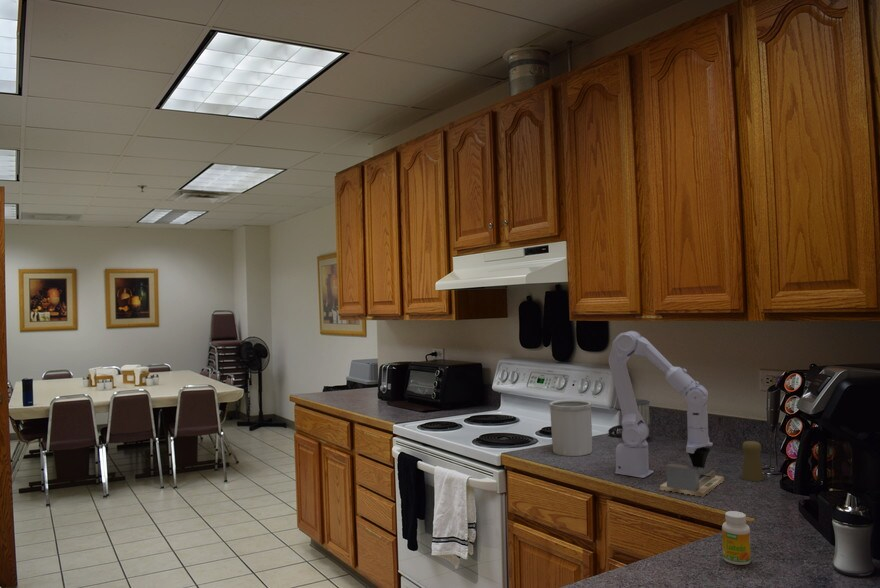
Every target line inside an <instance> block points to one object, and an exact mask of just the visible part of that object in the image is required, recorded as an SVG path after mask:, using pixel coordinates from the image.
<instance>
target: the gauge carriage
mask: <svg viewBox="0 0 880 588" xmlns="http://www.w3.org/2000/svg"><path fill="white" fill-rule="evenodd" d="M692 467H693V465H692ZM704 471H705V467H704V468H700V467H699V480H700V479H701V478H702V477H704V476H705V477H711V476H708V475H704V474H705V472H704Z"/></svg>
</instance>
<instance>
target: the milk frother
mask: <svg viewBox="0 0 880 588" xmlns="http://www.w3.org/2000/svg"><path fill="white" fill-rule="evenodd" d="M635 399H636V403H637V407H638V410H639V413H640V414H641V415H642V417H643V421H644V422H645V424H646V425H647V426H648V428H649V435H648V437H647V438H646V441H647V443H648V442H650V441H652V438H651V423H650V421H651V420H650V419H651V418H650V400H647V399H641V398H640V399H639V398H635ZM619 429H621V430H623V427H622V424H621V425H615V426H612V427H610V428H609V429H608V434H609V436H611V437H616V438H620V437H621V438H622V432H621V433H617V432H618V430H619Z"/></svg>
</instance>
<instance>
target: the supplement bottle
mask: <svg viewBox="0 0 880 588" xmlns="http://www.w3.org/2000/svg"><path fill="white" fill-rule="evenodd" d="M724 515H725V518H724V520H725V522H723V524H722V525H721V526H722V527H721V539H722V559H723V560H724V561H725V562H726V563H728V564H731V565H739V566H743V565H744V566H745V565H748V564H750V563H751V560H752V559H751V558H752V556H751V528H750V526H749V525H748V524H746V523H747V514H745V513H743V512H742V511H741V512H740V511H737V510H729V511H726V512H725V514H724Z"/></svg>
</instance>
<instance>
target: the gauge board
mask: <svg viewBox="0 0 880 588" xmlns="http://www.w3.org/2000/svg"><path fill="white" fill-rule="evenodd" d="M704 475H708V476H711V477H705V476H704V477H702V478H701V479H700V480H699V490H697V491H696V492H694V491H688V490H682V489H677V488H671V487H667V480H666V481H665V482H663V483H662V484H660V485H659V490H660V491H664V490H665V492H669V491H672V492H671V493H675V492H678V493H677V494H681V493H684V494H683V495H687V494H690V495H689V496H692V495H695V496H694V497H698V496H701V497H700V498H705V495H706V494H707V495H708V494H710V493H711V492H712V491H713V490H714V488H715V487H716V486H717V485H718V486H720V485H721V484H723V481H724V482H725V476H723V475H716V471H715V470H711V471H709V472H708V473H704ZM720 483H721V484H720ZM719 484H720V485H719ZM718 486H717V487H718ZM717 487H716V488H717ZM716 488H715V489H716ZM711 490H712V491H711ZM710 491H711V492H710ZM709 492H710V493H709ZM707 495H706V496H707Z"/></svg>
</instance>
